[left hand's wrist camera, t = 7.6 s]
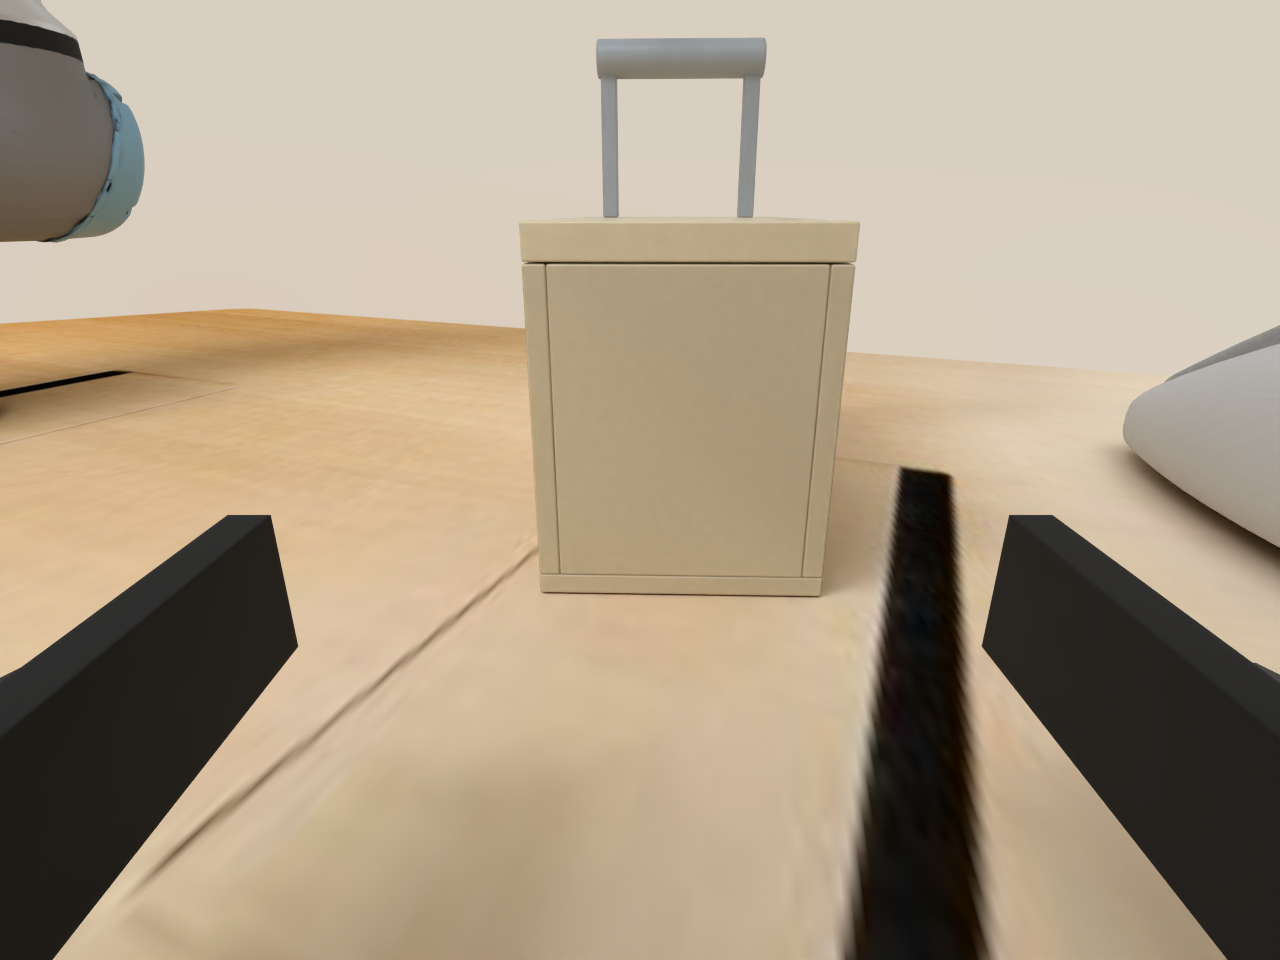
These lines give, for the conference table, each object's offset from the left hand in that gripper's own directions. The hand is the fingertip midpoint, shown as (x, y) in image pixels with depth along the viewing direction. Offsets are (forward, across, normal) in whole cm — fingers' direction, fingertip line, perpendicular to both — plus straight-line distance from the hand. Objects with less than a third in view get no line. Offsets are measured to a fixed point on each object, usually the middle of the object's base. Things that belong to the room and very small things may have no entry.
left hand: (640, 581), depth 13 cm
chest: (+19, +2, -6) cm, 20 cm away
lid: (+19, +2, +5) cm, 20 cm away
